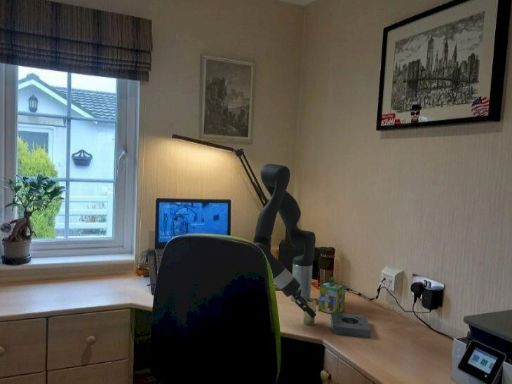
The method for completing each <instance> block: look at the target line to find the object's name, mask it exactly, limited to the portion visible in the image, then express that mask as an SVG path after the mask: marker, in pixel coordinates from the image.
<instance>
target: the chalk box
mask: <svg viewBox="0 0 512 384" xmlns="http://www.w3.org/2000/svg"><path fill="white" fill-rule="evenodd" d="M346 288H347V287H346V285H344V284H339V283H336V282H335V278H334V276H331V277H330V278H329V281H326V282H324V283H322V284H320V285H319V293H318V295H319V297H318V312H321V311H322V312H321V313H327V314H331V312H335V313H343V312H344V311H345V304H346V303H345V302H346ZM343 310H344V311H343Z"/></svg>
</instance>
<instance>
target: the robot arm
mask: <svg viewBox="0 0 512 384" xmlns="http://www.w3.org/2000/svg"><path fill="white" fill-rule="evenodd" d="M260 179H261V183H262V185H263V186H264V187H265V189H266V190H267V192H268V194H269V195H270V199H269V201H267V203H266V204H265V205H264V207H263V208H262V209H261V211H260V212H259V215H258V216H257V220H256V226H255V232H254V233H255V234H254V238H253V240H252V244H253V243H254V244H256V245H257V246H259V247H260V248H261V249H262V250H263V251H264V253H265V254H266V256H267V259H268V261H269V263H270V266H271V269H272V273H273V280H274V281H273V280H272V281H273V282H274V284H275V285H276V286H277V288H278V289H279V290H280V291H281V292H282V293H283V294H284V296H285V297H287V298H288V297H290V300H291V299H292V300H294V301H293V302H294V303H295V304H296V305H297V306H298V308H300V309H301V310H302V311H303V313H304V312H307V313H308V314H309V315H310V316H311V318H314V317H315V318H316V316H317V314H316V312H317V310H316V308H315V312H314V311H313V310H312V309H311V308H310V306H309V305H308V304H307V300H306V299H311V294H312V281H313V280H312V279H313V264H314V263H313V262H314V258H315V248H316V234H315V232H314V231H310V230H303V229H300V228H299V226H298V225H297V224H298V223H299V221H300V219H301V215H302V212H301V209H300V207H299V203H298V201H297V200H296V198H295V197H294V196H293V195H292V194H290V193H289V191H287V190H288V189H287V188H288V185H289V183H290V181H291V180H290V179H291V171H290V168H289V166H286V165H283V164H282V165H281V164H277V163H276V164H275V163H266V164H264V165H263V166H262V167H261V170H260ZM278 214H279V216H280V219H281V221H282V222H283V224H284V227H285V229H286V231H287V235H288V238H289V242H290V244H291V246H292V247H293V248H294V249H295V250H300V251H303V254H301V255H298V256H297V255H296V256H294V257H293V259H292V273H291V272H290V271H289V270H288V269H287V268H286V267H285V266H284V264H283V263H282V262H281V261H280V260H279V259H277V258H276V257H275V256H274V254H273V253H272V252H271V250H270V248H269V247H270V244H271V243H270V241H271V238H272V236H273V231H274V227H275V223H276V219H277V215H278ZM292 300H291V301H292ZM305 306H306V307H305ZM304 307H305V308H304Z"/></svg>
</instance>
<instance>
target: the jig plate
mask: <svg viewBox="0 0 512 384" xmlns="http://www.w3.org/2000/svg"><path fill="white" fill-rule="evenodd" d="M330 326H331V333H332V335H339V336H349V337H358V338H359V337H360V338H365V339H366V338H368V339H371V334H372V332H371V331H372V329H371V327H370V325H369V322H368V320H367V317H366V315H365V314H363V315H362V314H353V313H343V312H341V313H335V312H331V313H330Z"/></svg>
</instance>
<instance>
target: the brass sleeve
mask: <svg viewBox="0 0 512 384" xmlns="http://www.w3.org/2000/svg"><path fill="white" fill-rule="evenodd" d="M306 300H307V304H308V305H309V306H310V308H311V309H312V310H313V311H314V312H315V309H316V306H317V300H315V299H314V298H310V299H306ZM305 307H306V306H304V308H305ZM315 313H316V312H315ZM315 319H316V316H315V317H314V318H311V316H310V315H309V314H308V313H307V312H304V311H303V322H302V323H303V325H305V326H307V327H313V326H315V321H316V320H315Z"/></svg>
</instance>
